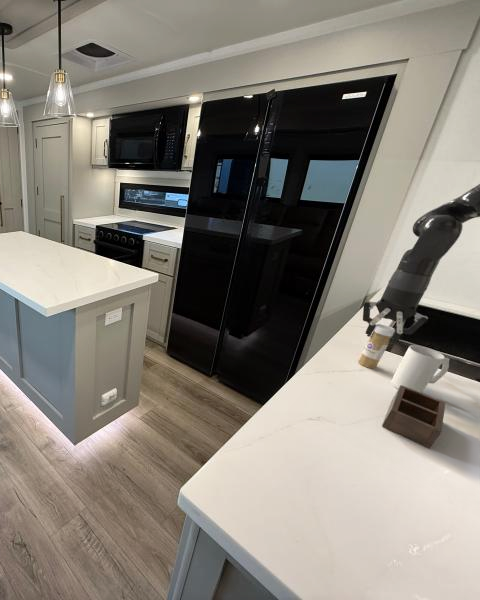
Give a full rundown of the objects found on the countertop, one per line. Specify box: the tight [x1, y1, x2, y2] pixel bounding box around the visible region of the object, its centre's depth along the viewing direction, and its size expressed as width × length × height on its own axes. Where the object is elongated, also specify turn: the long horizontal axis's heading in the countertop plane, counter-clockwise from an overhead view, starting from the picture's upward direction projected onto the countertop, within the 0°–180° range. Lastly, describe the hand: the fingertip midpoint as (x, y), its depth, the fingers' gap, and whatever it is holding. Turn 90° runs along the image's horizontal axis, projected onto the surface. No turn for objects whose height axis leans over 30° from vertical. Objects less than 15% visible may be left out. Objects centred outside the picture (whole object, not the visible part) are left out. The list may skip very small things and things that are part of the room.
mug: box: [390, 344, 451, 393], centre depth 84 cm, size 10×7×12 cm, turn 78°
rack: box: [381, 385, 446, 449], centre depth 74 cm, size 8×15×5 cm, turn 130°
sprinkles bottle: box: [357, 323, 397, 369], centre depth 94 cm, size 5×5×14 cm
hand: (379, 339), depth 93 cm, fingers closed on sprinkles bottle, 4 cm apart
